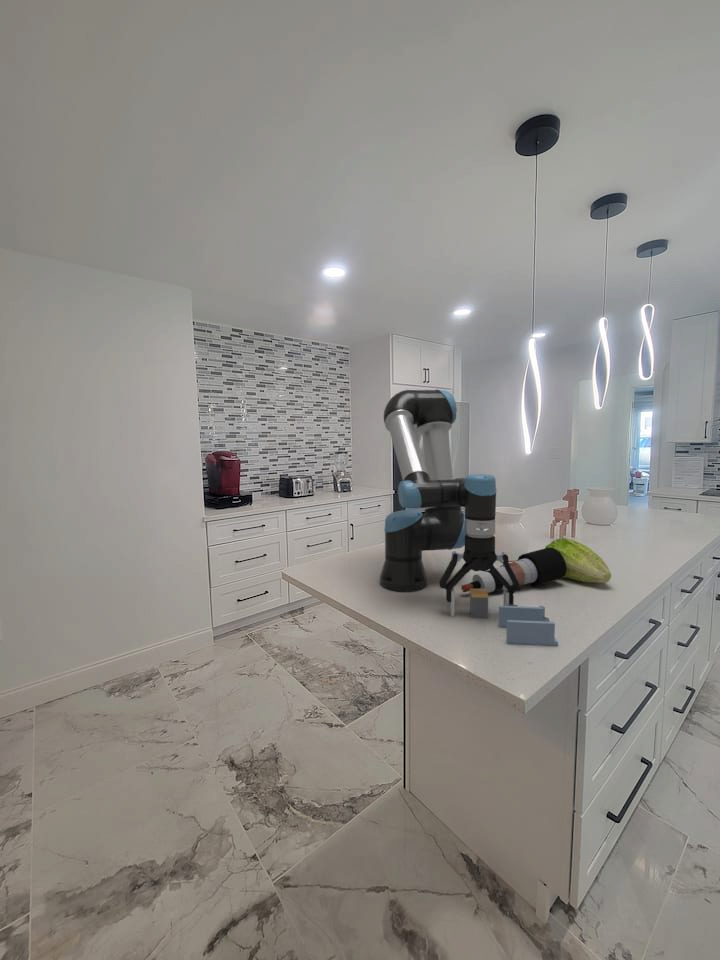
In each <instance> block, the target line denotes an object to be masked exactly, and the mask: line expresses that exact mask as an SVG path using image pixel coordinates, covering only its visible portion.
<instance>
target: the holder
mask: <svg viewBox="0 0 720 960" xmlns="http://www.w3.org/2000/svg"><path fill="white" fill-rule="evenodd" d="M498 626H499V627H500V628H506V631H505V632H506V633H505V634H506V637H505V638H506V640H505V641H506V643H507V644H511V645H512V644H514V645H515V644H516V645H534V646H535V645H537V646H539V645H540V646H559V642H558V640H557V639H556V637H555V631H556V630H555V627H556V623H555V622H554V621H548V622H546V621H543V608H542V607H539V606H522V605H521V606H519V605H518V606H503V605H498Z"/></svg>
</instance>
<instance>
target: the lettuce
mask: <svg viewBox="0 0 720 960" xmlns="http://www.w3.org/2000/svg"><path fill="white" fill-rule="evenodd" d="M545 548H554V549H556V550H557V551H559V552H560V553H561V555H562V556H563V558H564V560H565V562H566V567H567V569H566V574H565V576H564V577H563V578H566V579H570V580H574V581H578V582H582V583H608V582H609V581H610V580H611V579H612V573H611V570H610V569H609V567H608V565H607V564H606V562H605V561H604V560H603V558H602V557H600V556H599V555H598V554H597V553H596V552H595V551H593V550H592V549H591V548H589V546H587V545H586V544H582V543H581V542H578V541H577V540H572V539H570V538H567V537H565V538H558V539H554V540H553V541H551V542H550V543H548V544H547V545H546V546H545ZM545 548H544V549H545Z"/></svg>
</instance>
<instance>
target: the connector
mask: <svg viewBox="0 0 720 960" xmlns="http://www.w3.org/2000/svg"><path fill="white" fill-rule="evenodd" d="M489 599H490V598H489V593H487V591H486V589H471V588H470V591H469V613H470V618H471V619H483V620H488V619H489Z"/></svg>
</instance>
